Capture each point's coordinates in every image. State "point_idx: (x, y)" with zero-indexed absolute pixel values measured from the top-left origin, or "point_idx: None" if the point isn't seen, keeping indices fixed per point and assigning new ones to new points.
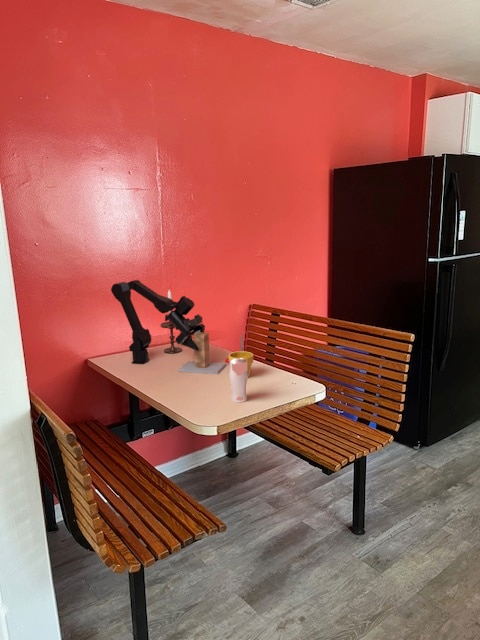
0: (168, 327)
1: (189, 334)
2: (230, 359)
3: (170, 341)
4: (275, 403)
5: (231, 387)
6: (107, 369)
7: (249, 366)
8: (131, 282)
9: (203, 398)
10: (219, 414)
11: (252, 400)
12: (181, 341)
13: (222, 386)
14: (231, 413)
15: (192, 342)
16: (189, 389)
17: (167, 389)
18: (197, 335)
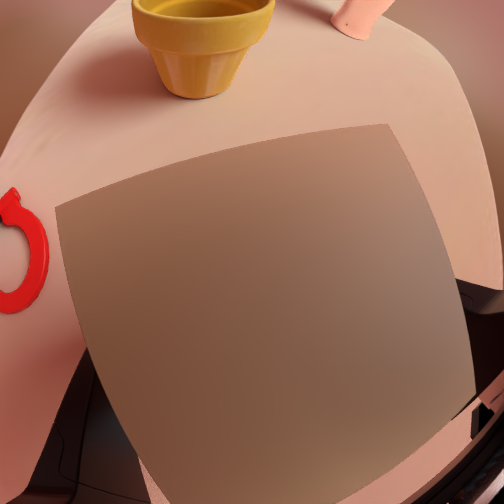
0: None
1: (455, 480)
2: (270, 16)
3: None
4: None
5: (378, 16)
6: None
7: (199, 11)
8: None
9: (415, 93)
10: (414, 45)
11: (328, 10)
12: (485, 412)
13: (330, 81)
14: (395, 31)
15: (460, 280)
16: (424, 160)
17: (466, 225)
18: (449, 296)
